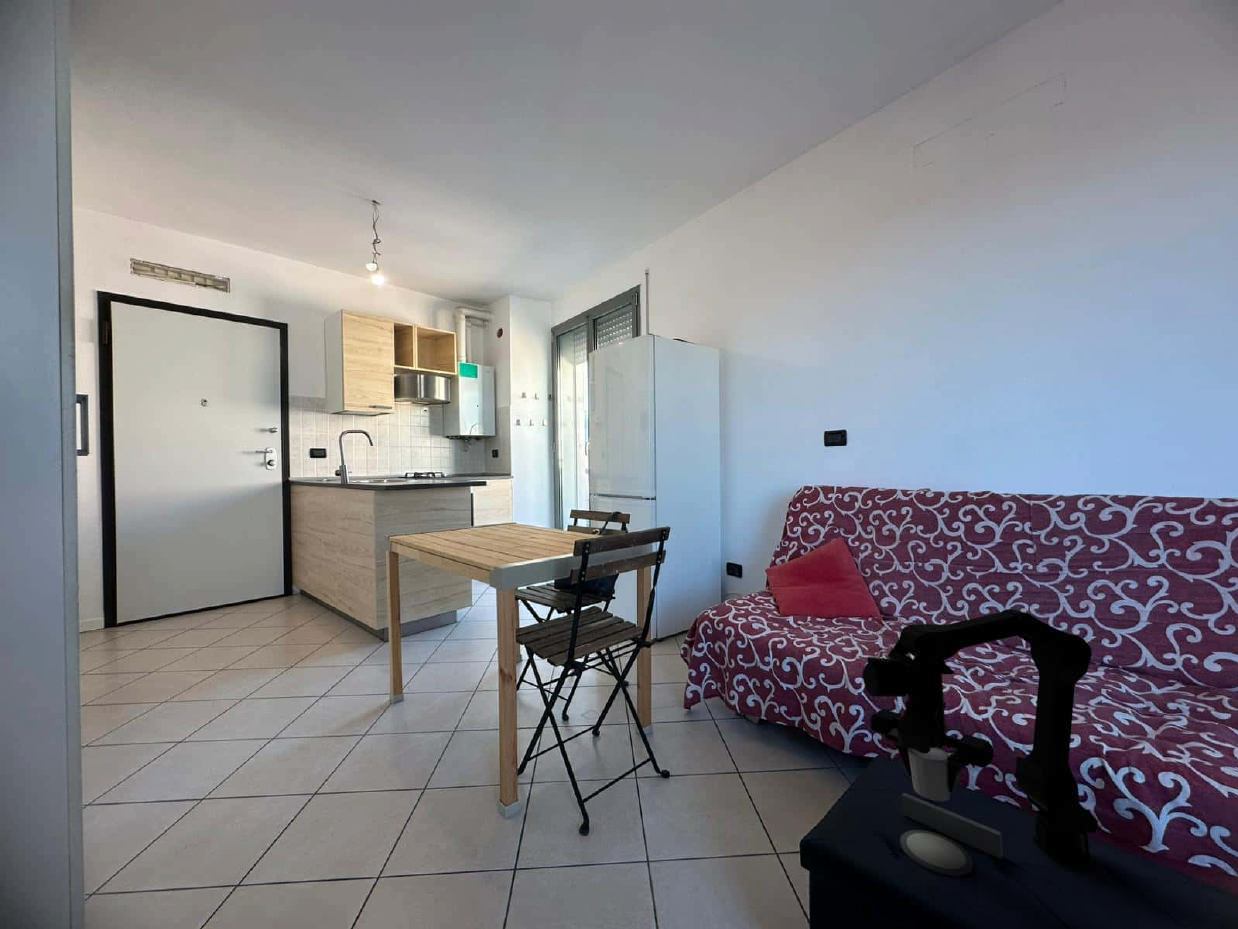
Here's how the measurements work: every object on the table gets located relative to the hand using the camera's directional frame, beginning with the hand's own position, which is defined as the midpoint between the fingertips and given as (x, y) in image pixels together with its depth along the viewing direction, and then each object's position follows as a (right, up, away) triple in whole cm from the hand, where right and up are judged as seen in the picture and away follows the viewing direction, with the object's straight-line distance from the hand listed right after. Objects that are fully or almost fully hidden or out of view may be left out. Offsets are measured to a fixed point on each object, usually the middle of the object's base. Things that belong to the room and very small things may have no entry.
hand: (930, 783), depth 88 cm
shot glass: (0, -2, 0) cm, 2 cm away
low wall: (+6, -12, +3) cm, 14 cm away
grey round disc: (0, -12, -2) cm, 12 cm away
